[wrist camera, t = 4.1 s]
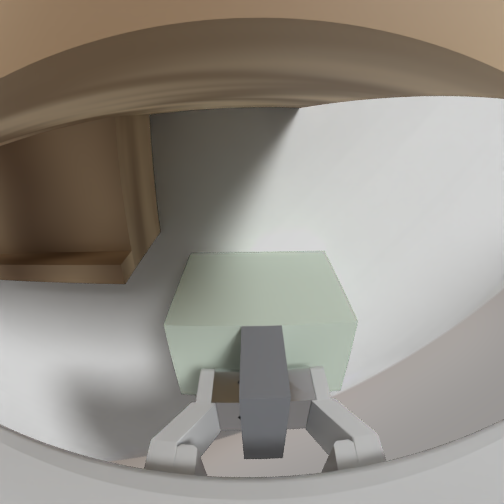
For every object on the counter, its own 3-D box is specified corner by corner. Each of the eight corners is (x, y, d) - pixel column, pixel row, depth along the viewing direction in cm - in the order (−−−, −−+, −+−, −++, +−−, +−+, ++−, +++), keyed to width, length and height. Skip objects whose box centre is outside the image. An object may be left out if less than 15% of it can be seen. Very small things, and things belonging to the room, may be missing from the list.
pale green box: (324, 250, 16) (386, 386, 8) (317, 313, 18) (355, 450, 9) (190, 253, 16) (140, 393, 8) (198, 315, 18) (170, 455, 9)
